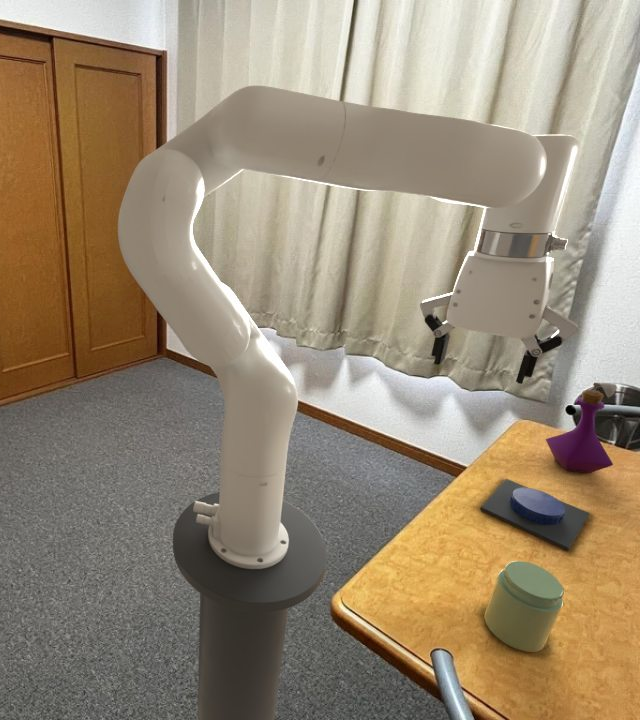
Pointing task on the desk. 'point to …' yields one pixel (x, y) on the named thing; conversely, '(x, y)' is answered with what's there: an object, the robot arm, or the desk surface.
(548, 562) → the desk surface
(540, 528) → the plate
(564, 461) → the perfume bottle
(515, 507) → the lid
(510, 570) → the jar
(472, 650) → the desk surface
